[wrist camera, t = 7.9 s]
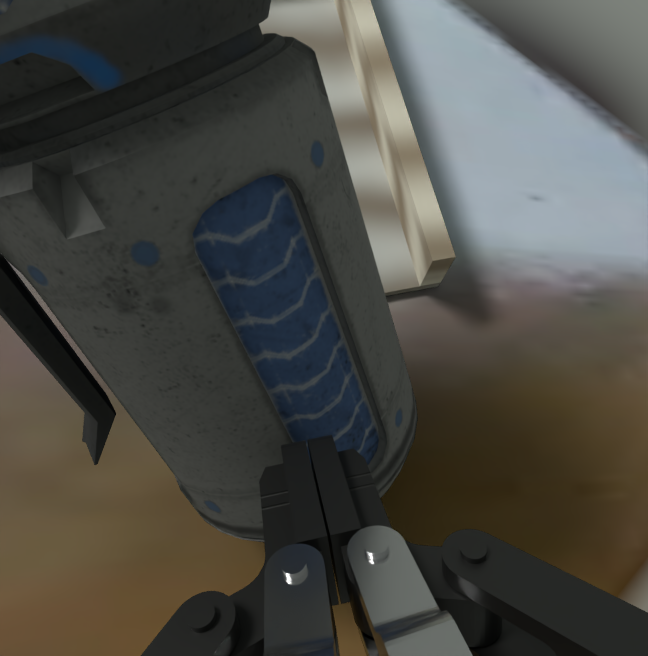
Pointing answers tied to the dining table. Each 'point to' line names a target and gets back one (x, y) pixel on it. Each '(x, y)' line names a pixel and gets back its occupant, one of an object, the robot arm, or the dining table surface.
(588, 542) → the dining table surface
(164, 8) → the beverage bottle
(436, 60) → the dining table surface
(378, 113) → the cream flat rectangular tray
